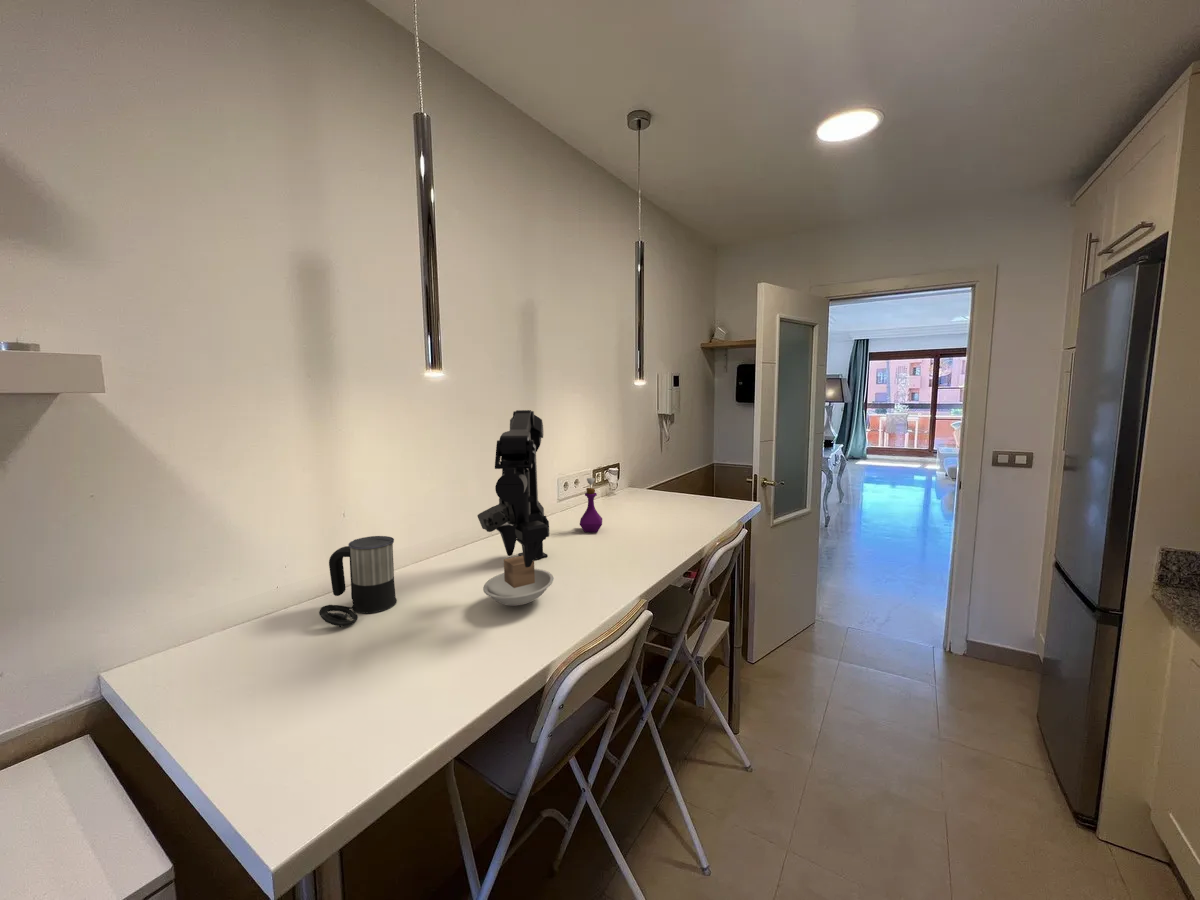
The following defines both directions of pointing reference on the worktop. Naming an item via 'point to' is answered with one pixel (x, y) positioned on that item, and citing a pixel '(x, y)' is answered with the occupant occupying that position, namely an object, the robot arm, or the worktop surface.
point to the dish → (517, 589)
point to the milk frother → (362, 579)
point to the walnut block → (518, 572)
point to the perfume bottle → (591, 512)
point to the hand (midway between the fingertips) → (518, 561)
